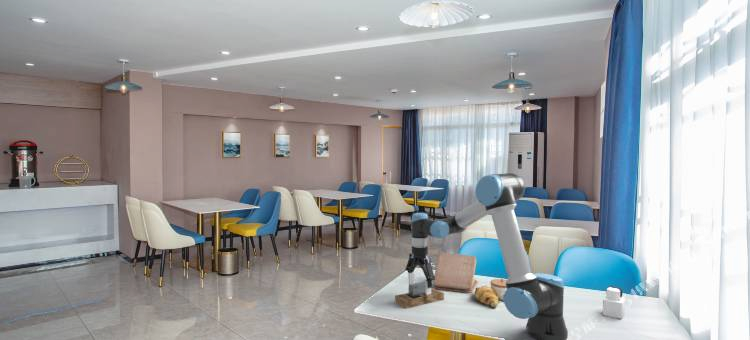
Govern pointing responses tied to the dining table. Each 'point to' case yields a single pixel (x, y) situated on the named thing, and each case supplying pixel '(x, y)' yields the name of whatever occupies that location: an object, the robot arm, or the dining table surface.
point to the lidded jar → (499, 287)
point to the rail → (419, 299)
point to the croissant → (486, 296)
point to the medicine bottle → (614, 303)
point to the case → (455, 273)
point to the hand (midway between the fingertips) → (419, 290)
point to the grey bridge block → (417, 289)
